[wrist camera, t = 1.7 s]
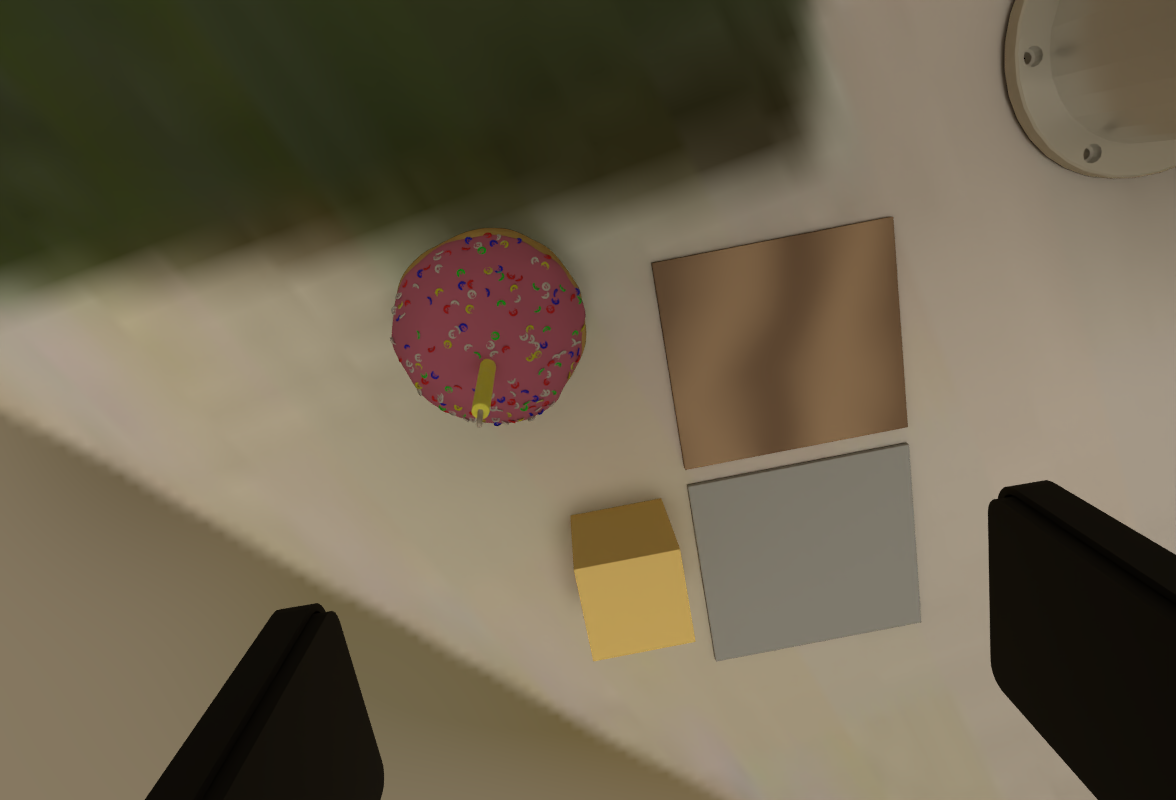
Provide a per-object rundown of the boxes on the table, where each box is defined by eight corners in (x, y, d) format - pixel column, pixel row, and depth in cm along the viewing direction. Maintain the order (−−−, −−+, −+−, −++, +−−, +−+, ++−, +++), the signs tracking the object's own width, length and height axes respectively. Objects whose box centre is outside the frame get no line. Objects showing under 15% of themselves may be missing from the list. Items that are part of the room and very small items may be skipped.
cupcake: (590, 386, 38) (607, 470, 26) (426, 405, 37) (370, 498, 26) (572, 215, 35) (581, 224, 24) (396, 235, 35) (320, 253, 24)
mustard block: (661, 497, 39) (679, 549, 34) (675, 578, 41) (695, 641, 35) (570, 515, 39) (573, 569, 34) (587, 595, 41) (593, 661, 35)
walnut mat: (890, 216, 36) (893, 216, 36) (905, 425, 39) (907, 426, 39) (651, 262, 36) (652, 263, 36) (684, 467, 39) (685, 469, 39)
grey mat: (906, 442, 39) (909, 444, 39) (918, 619, 42) (921, 622, 42) (687, 484, 39) (688, 486, 39) (714, 658, 42) (716, 661, 42)
